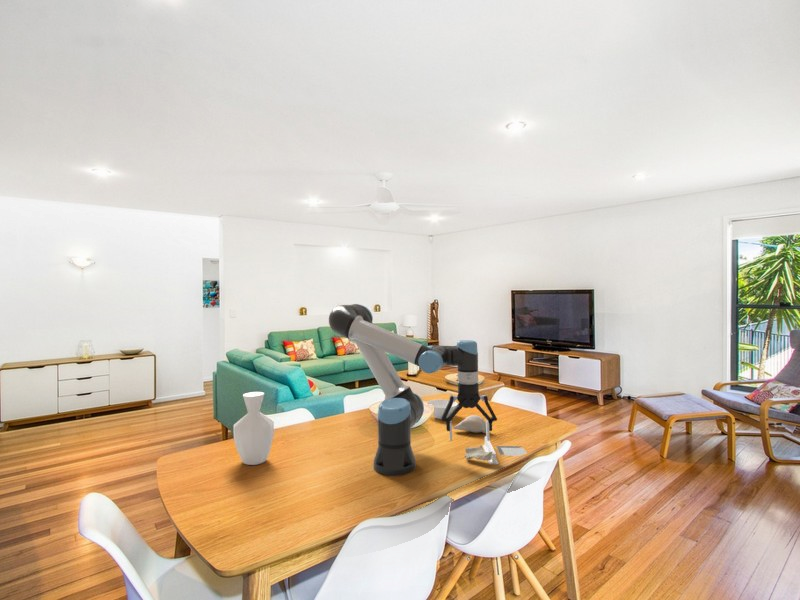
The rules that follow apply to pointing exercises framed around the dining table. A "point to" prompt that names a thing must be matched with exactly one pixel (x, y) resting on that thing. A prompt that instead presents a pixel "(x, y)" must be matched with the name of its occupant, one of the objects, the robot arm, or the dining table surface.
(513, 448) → the rest mat
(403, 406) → the robot arm
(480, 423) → the decorative bird
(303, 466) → the dining table surface
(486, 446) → the divider wall
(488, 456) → the coral
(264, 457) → the vase
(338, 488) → the dining table surface
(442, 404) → the bowl
